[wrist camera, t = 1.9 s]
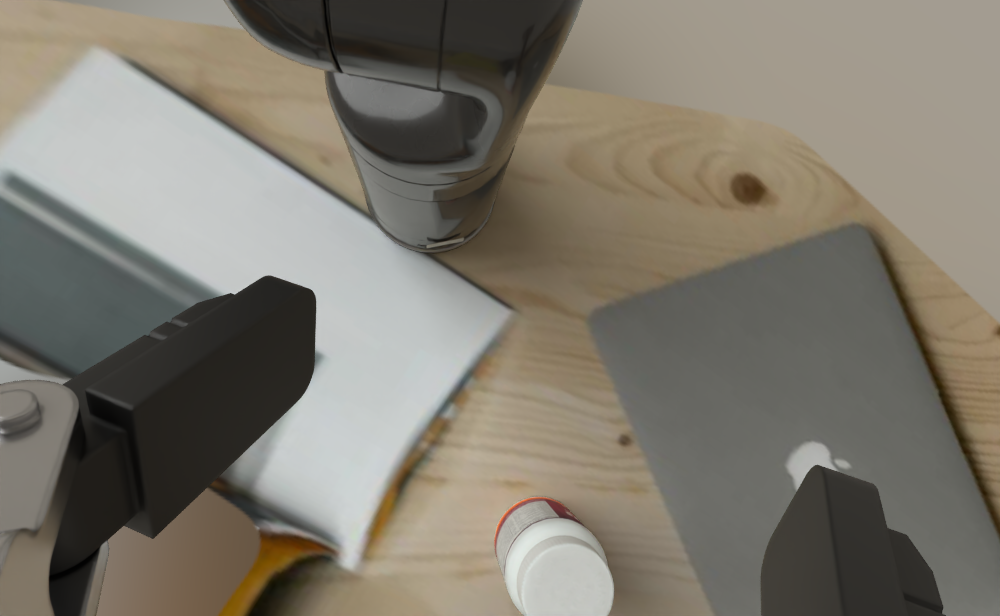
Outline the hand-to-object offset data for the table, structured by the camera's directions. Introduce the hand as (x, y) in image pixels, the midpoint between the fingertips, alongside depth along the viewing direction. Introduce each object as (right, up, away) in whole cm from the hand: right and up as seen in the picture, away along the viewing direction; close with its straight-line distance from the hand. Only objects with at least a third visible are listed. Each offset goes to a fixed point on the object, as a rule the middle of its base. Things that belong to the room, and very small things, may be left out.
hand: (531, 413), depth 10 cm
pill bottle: (+2, -15, +36) cm, 39 cm away
